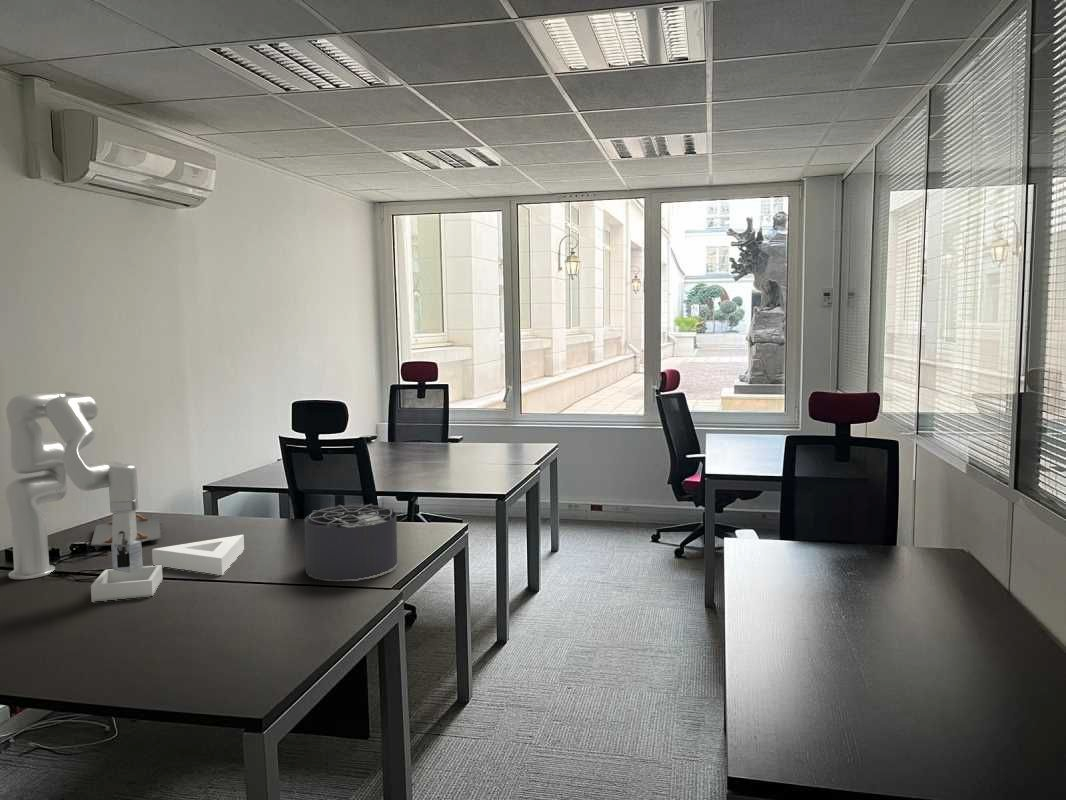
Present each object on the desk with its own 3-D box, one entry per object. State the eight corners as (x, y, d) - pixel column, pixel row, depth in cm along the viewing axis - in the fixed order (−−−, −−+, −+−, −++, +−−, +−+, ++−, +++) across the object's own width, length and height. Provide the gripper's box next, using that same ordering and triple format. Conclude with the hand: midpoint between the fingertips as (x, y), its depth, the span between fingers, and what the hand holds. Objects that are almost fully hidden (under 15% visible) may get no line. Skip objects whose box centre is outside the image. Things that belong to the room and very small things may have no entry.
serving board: (96, 530, 305) (95, 515, 305) (160, 523, 316) (160, 508, 315) (89, 554, 271) (88, 537, 270) (162, 546, 281) (161, 529, 281)
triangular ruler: (152, 567, 255) (152, 549, 255) (212, 547, 279) (211, 530, 279) (222, 577, 244) (221, 558, 244) (277, 556, 268) (277, 538, 268)
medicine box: (143, 569, 230) (142, 541, 229) (130, 573, 226) (128, 544, 225) (125, 566, 233) (124, 538, 232) (112, 570, 229) (110, 542, 228)
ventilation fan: (412, 505, 261) (370, 526, 232) (413, 558, 263) (372, 585, 234) (333, 500, 269) (284, 520, 240) (335, 552, 271) (286, 578, 242)
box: (105, 585, 235) (105, 569, 235) (162, 580, 240) (161, 564, 239) (91, 602, 220) (90, 585, 220) (152, 597, 225) (151, 580, 224)
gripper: (117, 500, 235) (120, 556, 236) (102, 512, 218) (106, 572, 220) (144, 499, 237) (147, 553, 239) (131, 511, 221) (134, 569, 222)
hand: (127, 562), depth 229 cm, fingers closed on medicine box, 8 cm apart
